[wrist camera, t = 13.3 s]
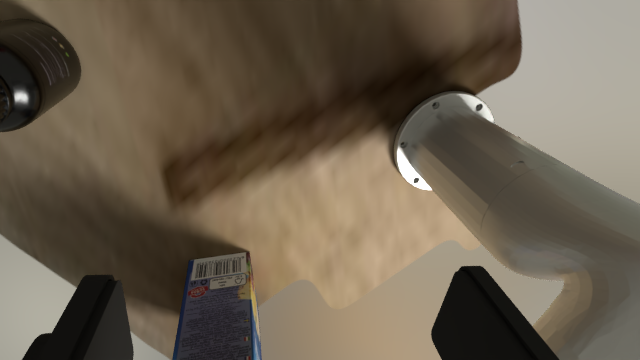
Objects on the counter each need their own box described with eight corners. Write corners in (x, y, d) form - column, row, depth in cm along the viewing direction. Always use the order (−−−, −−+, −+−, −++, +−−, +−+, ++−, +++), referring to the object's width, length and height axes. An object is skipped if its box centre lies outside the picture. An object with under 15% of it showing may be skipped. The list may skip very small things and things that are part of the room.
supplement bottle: (39, 112, 33) (-50, 172, 23) (-30, 42, 29) (-172, 78, 19) (102, 76, 32) (40, 121, 22) (39, 1, 29) (-68, 15, 19)
